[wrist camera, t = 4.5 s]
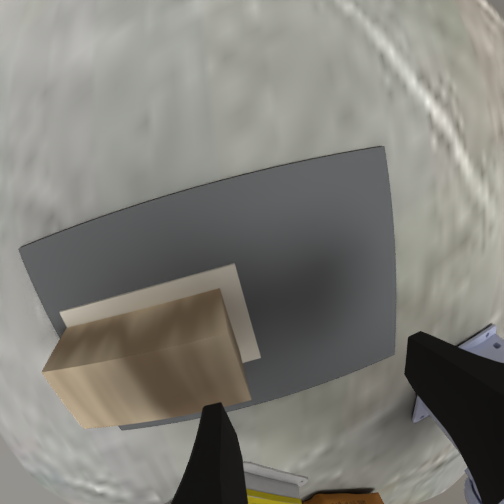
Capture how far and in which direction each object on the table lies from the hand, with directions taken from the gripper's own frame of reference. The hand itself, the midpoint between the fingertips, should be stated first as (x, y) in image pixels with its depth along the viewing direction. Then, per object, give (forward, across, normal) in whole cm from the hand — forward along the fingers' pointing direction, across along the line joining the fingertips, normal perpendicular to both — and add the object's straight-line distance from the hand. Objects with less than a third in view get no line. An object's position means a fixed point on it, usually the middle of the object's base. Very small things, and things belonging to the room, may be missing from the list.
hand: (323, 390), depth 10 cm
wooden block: (+5, +3, 0) cm, 5 cm away
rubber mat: (+7, +3, 0) cm, 8 cm away
